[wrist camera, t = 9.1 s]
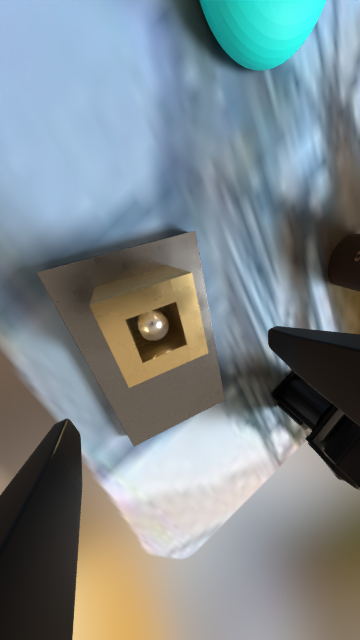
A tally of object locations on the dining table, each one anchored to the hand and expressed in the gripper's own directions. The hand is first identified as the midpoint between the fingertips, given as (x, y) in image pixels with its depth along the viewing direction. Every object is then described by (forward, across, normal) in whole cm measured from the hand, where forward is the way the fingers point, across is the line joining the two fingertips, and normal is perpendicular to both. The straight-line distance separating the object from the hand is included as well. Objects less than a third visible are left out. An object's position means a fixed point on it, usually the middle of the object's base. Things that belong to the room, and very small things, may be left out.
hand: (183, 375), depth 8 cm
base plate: (+11, 0, +5) cm, 12 cm away
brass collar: (+9, 0, 0) cm, 9 cm away
